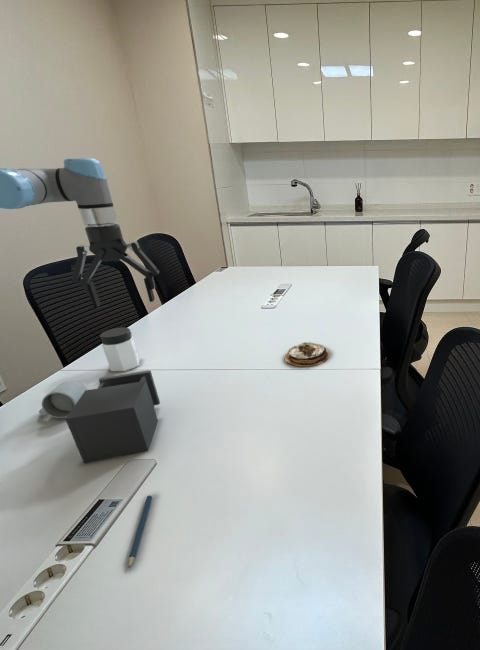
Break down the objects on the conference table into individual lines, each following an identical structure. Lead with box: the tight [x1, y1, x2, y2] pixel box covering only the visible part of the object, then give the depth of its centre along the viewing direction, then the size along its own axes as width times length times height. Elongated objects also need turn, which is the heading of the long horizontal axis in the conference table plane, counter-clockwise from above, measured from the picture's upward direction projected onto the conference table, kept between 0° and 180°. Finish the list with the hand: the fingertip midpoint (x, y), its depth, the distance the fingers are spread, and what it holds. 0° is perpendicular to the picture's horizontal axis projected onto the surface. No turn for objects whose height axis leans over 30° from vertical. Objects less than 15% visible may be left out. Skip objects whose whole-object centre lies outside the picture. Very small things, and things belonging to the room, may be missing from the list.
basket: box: [97, 369, 161, 407], centre depth 99 cm, size 17×12×10 cm
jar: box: [99, 327, 141, 372], centre depth 124 cm, size 9×8×12 cm
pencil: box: [128, 495, 153, 568], centre depth 68 cm, size 1×1×15 cm
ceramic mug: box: [38, 380, 88, 419], centre depth 102 cm, size 11×8×8 cm
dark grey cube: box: [64, 381, 159, 464], centre depth 89 cm, size 12×13×12 cm
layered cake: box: [284, 341, 331, 367], centre depth 129 cm, size 15×15×4 cm
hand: (125, 303), depth 107 cm, fingers open, 13 cm apart
